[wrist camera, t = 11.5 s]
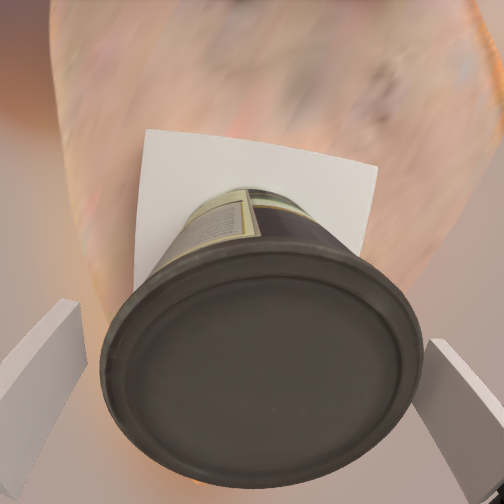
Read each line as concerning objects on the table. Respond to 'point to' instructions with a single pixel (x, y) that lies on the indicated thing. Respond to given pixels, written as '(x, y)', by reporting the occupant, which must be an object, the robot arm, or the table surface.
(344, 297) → the coffee can
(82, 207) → the table surface
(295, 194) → the base
